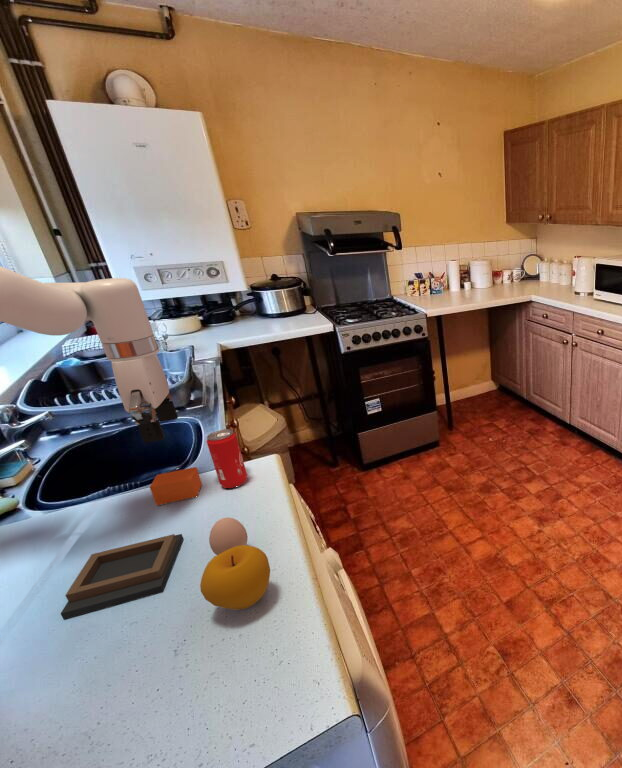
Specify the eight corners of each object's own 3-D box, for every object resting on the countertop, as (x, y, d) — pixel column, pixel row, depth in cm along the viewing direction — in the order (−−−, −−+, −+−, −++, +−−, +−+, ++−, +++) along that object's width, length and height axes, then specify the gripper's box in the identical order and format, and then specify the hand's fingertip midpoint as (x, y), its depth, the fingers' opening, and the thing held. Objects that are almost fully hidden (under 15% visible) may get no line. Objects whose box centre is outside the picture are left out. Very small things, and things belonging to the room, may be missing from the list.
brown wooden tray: (63, 619, 63) (55, 605, 62) (100, 559, 74) (94, 547, 73) (163, 591, 68) (157, 578, 67) (183, 538, 79) (179, 526, 78)
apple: (202, 633, 61) (183, 585, 58) (222, 586, 68) (206, 541, 65) (270, 617, 63) (255, 570, 60) (281, 574, 71) (269, 530, 67)
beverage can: (224, 478, 97) (209, 430, 92) (250, 474, 98) (237, 426, 94) (217, 492, 92) (201, 442, 88) (245, 487, 94) (230, 437, 89)
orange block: (156, 506, 88) (149, 487, 86) (163, 492, 92) (156, 474, 91) (197, 497, 91) (191, 478, 89) (202, 484, 95) (196, 466, 93)
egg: (253, 557, 74) (242, 522, 71) (216, 571, 71) (203, 535, 69) (249, 539, 78) (239, 505, 76) (215, 552, 75) (203, 517, 73)
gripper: (123, 338, 86) (152, 416, 93) (85, 364, 72) (123, 454, 78) (168, 333, 89) (194, 409, 95) (141, 357, 74) (173, 445, 81)
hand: (162, 429), depth 87 cm, fingers open, 9 cm apart
